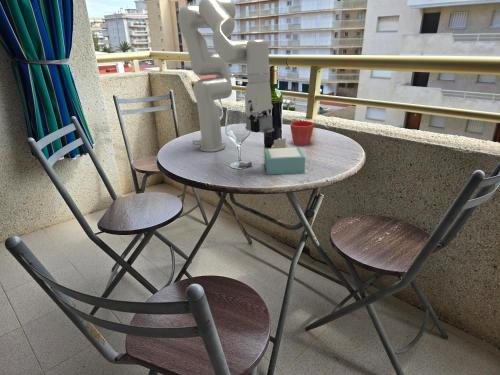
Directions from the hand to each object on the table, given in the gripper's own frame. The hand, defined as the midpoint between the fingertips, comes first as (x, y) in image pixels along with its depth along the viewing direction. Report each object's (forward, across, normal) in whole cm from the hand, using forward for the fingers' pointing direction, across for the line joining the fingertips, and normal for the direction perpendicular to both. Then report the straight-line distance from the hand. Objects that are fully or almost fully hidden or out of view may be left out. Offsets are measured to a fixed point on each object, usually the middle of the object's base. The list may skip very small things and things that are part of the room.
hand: (260, 129), depth 117 cm
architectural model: (+16, -19, -5) cm, 25 cm away
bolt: (+14, +1, -7) cm, 16 cm away
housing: (0, 0, 0) cm, 0 cm away
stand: (+16, -6, +6) cm, 18 cm away
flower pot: (+16, -38, -5) cm, 41 cm away
